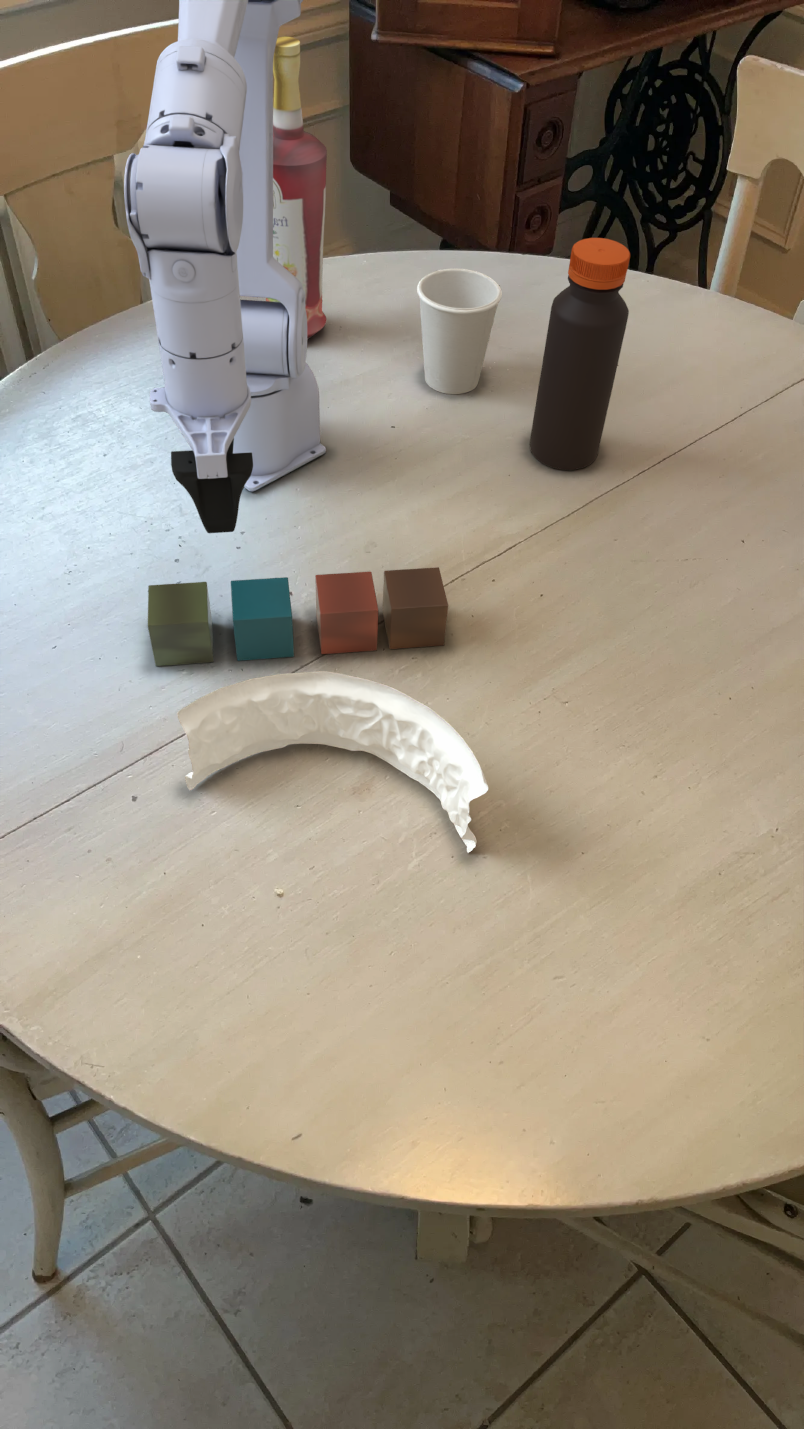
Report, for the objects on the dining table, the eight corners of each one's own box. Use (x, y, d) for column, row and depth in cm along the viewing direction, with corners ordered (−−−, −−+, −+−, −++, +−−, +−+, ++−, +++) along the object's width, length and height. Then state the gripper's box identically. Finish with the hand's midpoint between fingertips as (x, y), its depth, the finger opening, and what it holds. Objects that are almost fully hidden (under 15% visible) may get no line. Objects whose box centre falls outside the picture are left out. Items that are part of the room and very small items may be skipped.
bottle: (519, 460, 102) (550, 259, 87) (540, 423, 106) (573, 225, 91) (587, 479, 100) (630, 277, 85) (605, 441, 105) (650, 242, 89)
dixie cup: (449, 348, 114) (456, 259, 107) (507, 380, 111) (519, 290, 103) (395, 377, 110) (399, 286, 103) (454, 411, 107) (462, 319, 99)
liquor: (342, 330, 116) (342, 43, 95) (295, 355, 112) (284, 62, 91) (295, 306, 119) (285, 22, 98) (247, 329, 115) (226, 39, 94)
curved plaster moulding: (481, 856, 72) (489, 776, 66) (186, 884, 70) (168, 805, 64) (454, 736, 80) (460, 655, 74) (189, 758, 78) (173, 677, 72)
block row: (435, 607, 88) (439, 566, 85) (444, 645, 85) (448, 605, 82) (156, 626, 85) (148, 584, 82) (155, 666, 82) (147, 625, 79)
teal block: (290, 617, 87) (287, 576, 83) (294, 657, 84) (292, 616, 80) (234, 621, 86) (230, 580, 83) (237, 661, 83) (232, 620, 80)
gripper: (141, 284, 75) (165, 444, 86) (139, 400, 66) (166, 563, 76) (240, 281, 76) (253, 439, 87) (252, 395, 67) (264, 556, 77)
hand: (218, 497), depth 82 cm, fingers open, 7 cm apart
